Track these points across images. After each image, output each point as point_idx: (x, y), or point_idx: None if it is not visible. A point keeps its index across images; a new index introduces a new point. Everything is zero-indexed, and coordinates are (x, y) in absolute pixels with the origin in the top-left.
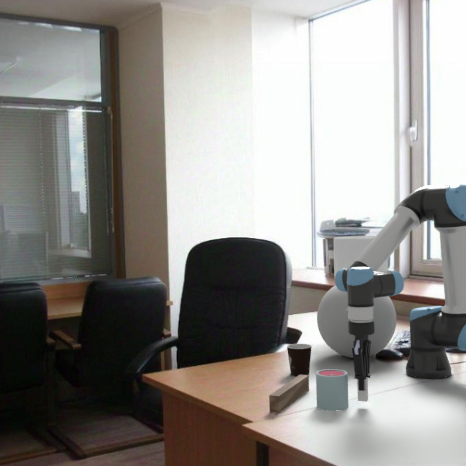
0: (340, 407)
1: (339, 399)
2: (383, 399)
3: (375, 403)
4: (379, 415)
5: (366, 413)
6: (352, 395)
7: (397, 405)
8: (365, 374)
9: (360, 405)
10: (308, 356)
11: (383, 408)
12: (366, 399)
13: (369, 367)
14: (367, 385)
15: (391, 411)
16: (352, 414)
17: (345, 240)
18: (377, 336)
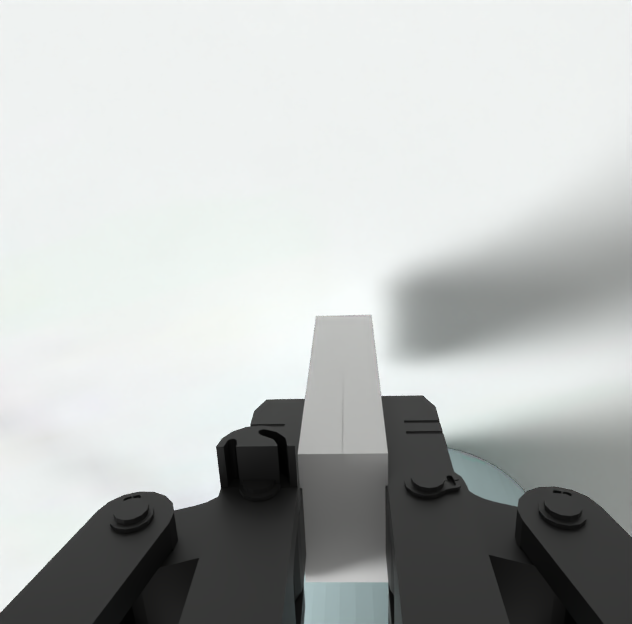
0: (517, 493)
1: None
2: (7, 225)
3: (178, 261)
4: (582, 106)
5: (543, 250)
6: (32, 505)
7: (147, 18)
8: (417, 524)
9: (300, 369)
10: None
11: (317, 137)
12: (371, 327)
13: (52, 577)
14: (327, 394)
15: (398, 19)
16: (607, 358)
17: None
18: None
